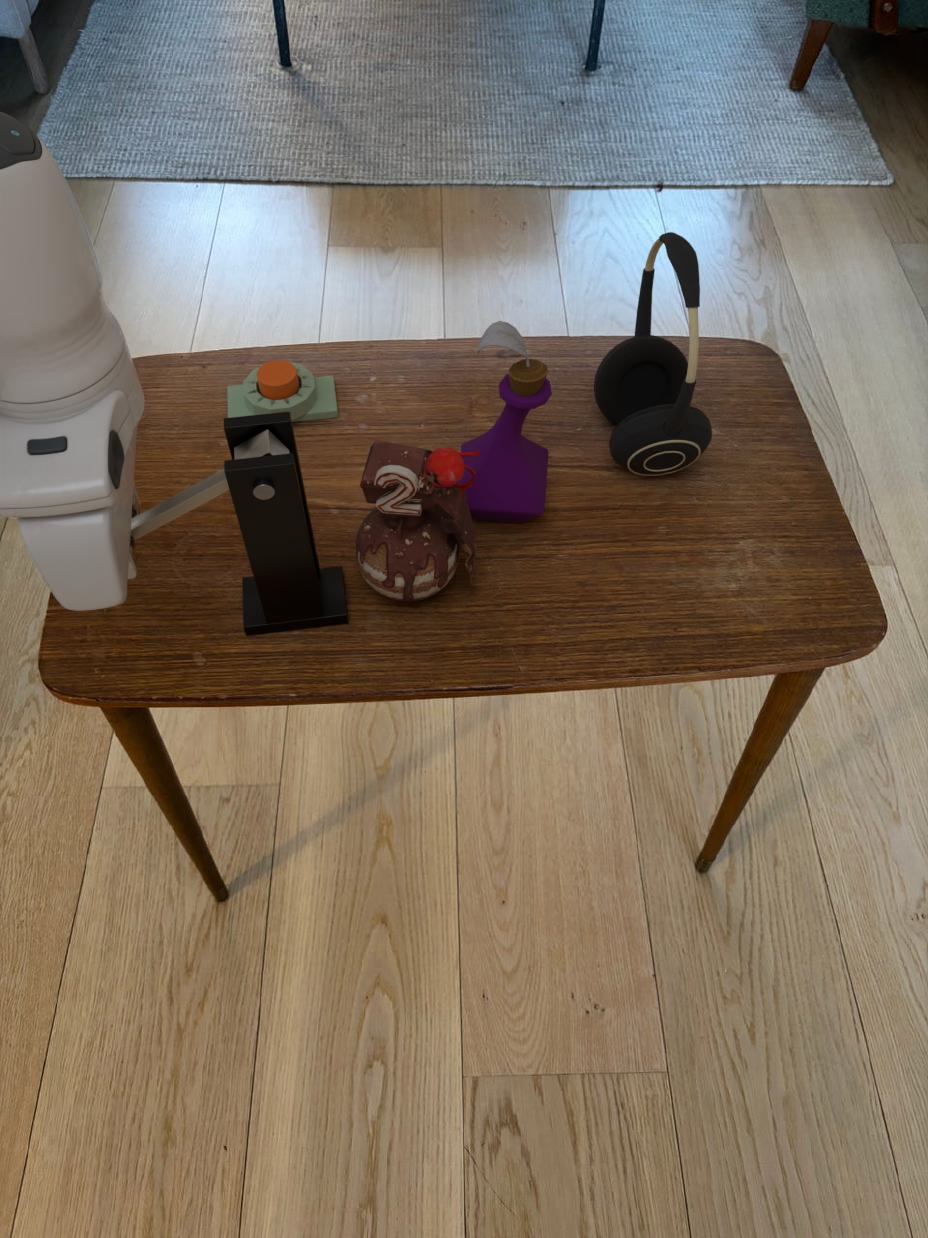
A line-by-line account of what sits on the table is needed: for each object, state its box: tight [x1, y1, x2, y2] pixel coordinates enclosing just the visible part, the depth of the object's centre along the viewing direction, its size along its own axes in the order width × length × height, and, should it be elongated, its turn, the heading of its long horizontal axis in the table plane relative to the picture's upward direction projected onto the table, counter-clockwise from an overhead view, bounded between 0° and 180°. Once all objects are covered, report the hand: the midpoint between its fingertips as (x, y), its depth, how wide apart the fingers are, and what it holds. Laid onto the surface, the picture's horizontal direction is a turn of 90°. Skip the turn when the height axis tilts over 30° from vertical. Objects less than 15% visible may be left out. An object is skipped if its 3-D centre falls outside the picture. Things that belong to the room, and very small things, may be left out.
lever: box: [130, 429, 290, 551], centre depth 67 cm, size 14×4×2 cm, turn 99°
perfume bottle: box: [455, 320, 553, 525], centre depth 78 cm, size 8×8×18 cm
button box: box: [226, 360, 339, 423], centre depth 91 cm, size 10×6×2 cm, turn 99°
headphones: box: [593, 231, 713, 477], centre depth 81 cm, size 9×15×20 cm, turn 6°
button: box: [257, 359, 299, 400], centre depth 90 cm, size 4×4×2 cm
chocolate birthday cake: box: [355, 439, 481, 603], centre depth 74 cm, size 9×8×15 cm
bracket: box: [223, 411, 349, 637], centre depth 71 cm, size 8×6×18 cm
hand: (127, 543), depth 70 cm, fingers closed on lever, 4 cm apart
